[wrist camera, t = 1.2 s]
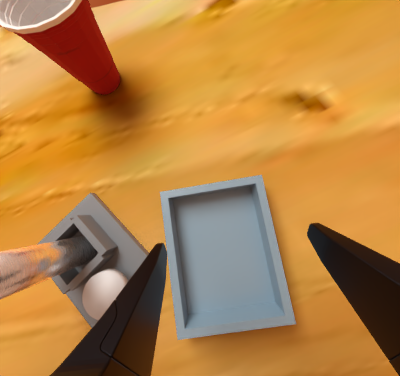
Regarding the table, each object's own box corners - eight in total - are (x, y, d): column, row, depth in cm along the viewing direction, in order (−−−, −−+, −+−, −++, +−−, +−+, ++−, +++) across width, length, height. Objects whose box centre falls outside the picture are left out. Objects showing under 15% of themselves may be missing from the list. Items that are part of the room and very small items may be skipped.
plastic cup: (128, 48, 29) (74, -61, 18) (138, 97, 28) (86, 12, 16) (74, 63, 30) (-15, -34, 18) (81, 113, 28) (-13, 41, 16)
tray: (282, 305, 21) (296, 324, 18) (182, 319, 22) (177, 339, 18) (254, 180, 24) (261, 174, 21) (166, 194, 25) (160, 192, 21)
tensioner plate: (161, 266, 23) (152, 276, 20) (102, 329, 22) (81, 351, 19) (94, 193, 25) (76, 190, 22) (39, 247, 25) (10, 253, 21)
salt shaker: (91, 267, 23) (-62, 340, 10) (67, 257, 23) (-109, 315, 10) (102, 240, 23) (-30, 276, 10) (79, 231, 24) (-76, 254, 11)
